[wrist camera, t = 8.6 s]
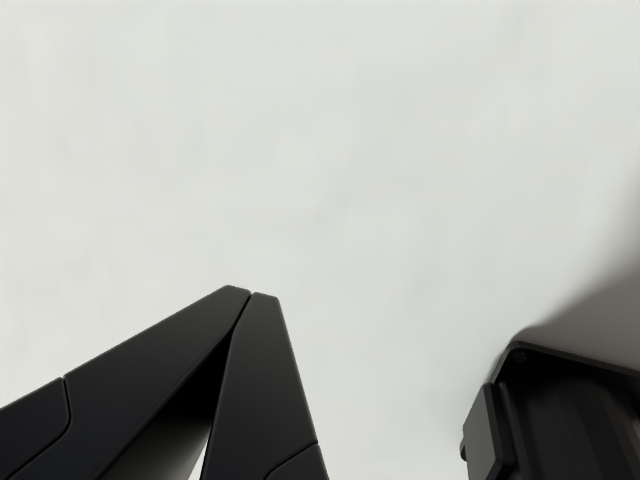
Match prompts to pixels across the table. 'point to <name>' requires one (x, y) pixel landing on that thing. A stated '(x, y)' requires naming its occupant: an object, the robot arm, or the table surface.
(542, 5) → the table surface
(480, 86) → the table surface
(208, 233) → the table surface
